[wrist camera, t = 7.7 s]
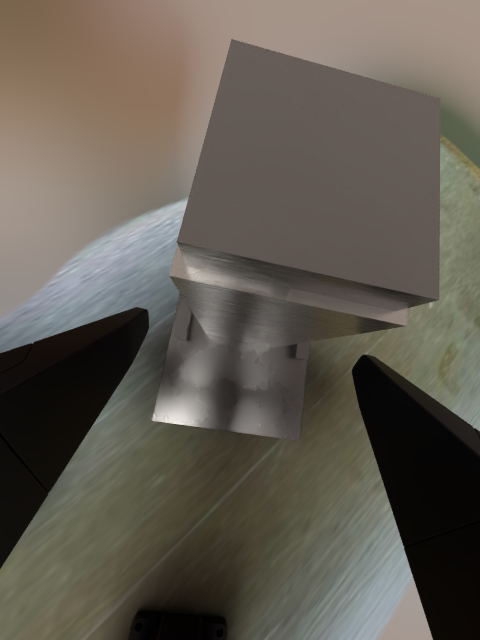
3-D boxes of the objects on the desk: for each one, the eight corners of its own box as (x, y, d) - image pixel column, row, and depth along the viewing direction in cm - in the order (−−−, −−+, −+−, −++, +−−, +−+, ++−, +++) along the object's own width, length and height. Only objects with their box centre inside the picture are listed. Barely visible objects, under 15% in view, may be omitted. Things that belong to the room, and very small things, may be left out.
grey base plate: (290, 431, 18) (314, 456, 13) (159, 413, 17) (138, 433, 12) (308, 258, 21) (333, 231, 16) (197, 236, 20) (191, 202, 15)
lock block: (274, 347, 17) (453, 318, 4) (205, 333, 16) (155, 253, 4) (284, 282, 18) (451, 92, 5) (220, 268, 17) (221, 25, 5)
